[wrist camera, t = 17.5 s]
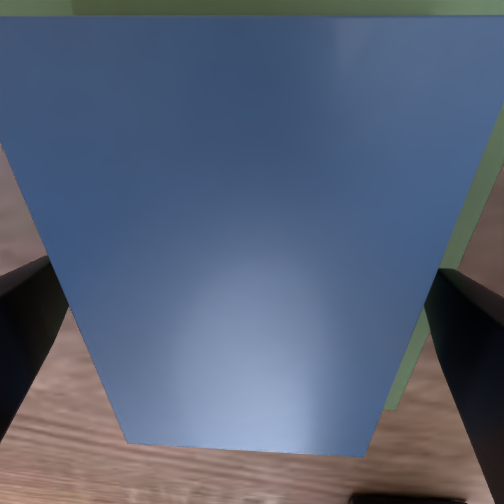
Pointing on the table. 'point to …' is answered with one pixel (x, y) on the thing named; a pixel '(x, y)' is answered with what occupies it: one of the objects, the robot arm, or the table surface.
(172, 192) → the blue book
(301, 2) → the green mat
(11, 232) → the table surface
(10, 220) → the table surface
